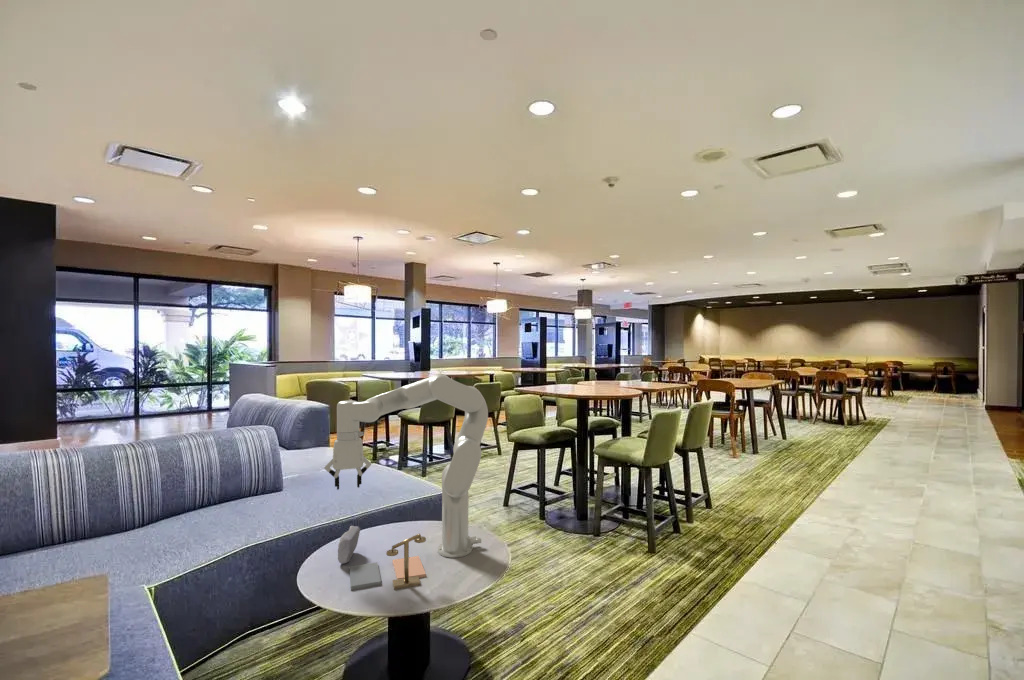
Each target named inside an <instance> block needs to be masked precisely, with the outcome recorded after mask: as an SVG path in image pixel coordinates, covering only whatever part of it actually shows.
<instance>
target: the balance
mask: <svg viewBox="0 0 1024 680" xmlns="http://www.w3.org/2000/svg"><path fill="white" fill-rule="evenodd" d="M412 541H414V542H415V543H417V544H421V543H422V544H423V543H425V542H426V541H427V537H426V536H422V535H421V533H418V534H415V535H413V536H411V537H408V538H407V539H405V540H401V541H400V542H398V543H396V544H394V545H391V549H388V550H386V551H385V552H386V553H385V554H386V556H388V557H395V556H398V555H399V550H398V548H399V547H401V546H403V558H404V578H402V579H393V580H392V587H393V590H394V591H395V590H399V589H404V588H410V587H416V586H420V585H421V579H420V578H419V577H418V576H414V577H409V557H410V556H409V554H410V553H409V552H410V547H409V546H410V545H409V544H410V542H412ZM396 548H397V549H396Z"/></svg>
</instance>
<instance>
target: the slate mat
mask: <svg viewBox="0 0 1024 680" xmlns="http://www.w3.org/2000/svg"><path fill="white" fill-rule="evenodd" d="M349 582H350V591H353V590H358V589H359V590H360V589H366V588H370V587H376V586H382V578H381V574H380V569H379V563H378V561H376V562H369V563H364V564H356V565H350V566H349Z"/></svg>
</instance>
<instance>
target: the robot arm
mask: <svg viewBox="0 0 1024 680" xmlns="http://www.w3.org/2000/svg"><path fill="white" fill-rule="evenodd" d="M437 400H438V401H440V402H442V403H445V405H446V404H447V405H450V406H452V407H454V408H456V409H459V410H460V411H464V417H463V420H462V421H463V422H462V425H461V427H460V430H459V433H458V435H457V437H456V440H455V442H454V444H453V448H452V451H453V455H452V458H451V461H450V463H448V464H447V465H446V466H445V467H444V468H443V470H442V472H441V473H442V474H441V497H442V498H441V505H442V506H441V509H442V510H441V544H439V546H438V547H437V553H438V555H440V556H442V557H444V558H445V557H446V558H449V559H450V558H451V559H452V558H453V559H454V558H462V557H465V556H467V555H470V553H472V552H473V548H474V547H473V545H475V544H482V537H476V536H470V535H469V508H470V507H469V506H470V505H469V491H470V488H471V487H472V485H473V484H472V483H473V481H474V479H475V476H476V473H477V470H478V468H479V465H480V462H481V459H482V447H481V446H480V445H481V443H482V440H483V436H484V433H485V431H486V427H487V423H488V421H489V411H488V408H489V407H488V405H487V403H486V400H485V398H484V396H483V395H482V392H480V390H479V389H477V387H475V386H473V385H466V384H464V383H461V382H459V381H457V380H455V379H452V378H450V377H449V376H448V375H446V374H442V373H440V374H435V375H432V376H430V377H429V376H428V377H426V378H423V379H420V380H418V381H415V382H412V383H409V384H406V385H403V386H401V387H398V388H396V389H393V390H389V391H387V392H384V393H380V394H378V395H375V396H372V397H370V398H368V399H366V400H364V401H357V400H349V399H348V400H341V401H338V403H337V404H336V439H335V440H334V444H333V448H332V452H333V453H332V459H331V460H330V461H329V462H328V463H327V464H326V465H325V466H324V470H325V471H326V472H328V473H329V475H331V476H332V477H333V478H334V488H335V487H336V490H337V491H339V490H340V476H339V474H340V471H342V470H354V469H355V470H356V472H357V475H356V486H357V488H360V485H362V476H363V475H364V474H365V472H366V471H367V470H368V469H369V468H370V467H371V466H372V462H370V460H368V458H366V456H364V445H363V440H362V438H361V437H362V436H365V434H364V431H360V422H361V423H373V422H376V421H377V420H378V419H379V418H380V417H382V416H384V415H386V414H389V413H392V412H396V411H399V410H403V409H405V410H409V409H410V410H411V409H414V408H416V407H417V408H418V407H419V406H422V405H424V404H428V403H430V402H434V401H437ZM364 464H365V465H364ZM331 467H332V468H331Z"/></svg>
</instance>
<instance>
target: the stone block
mask: <svg viewBox="0 0 1024 680" xmlns="http://www.w3.org/2000/svg"><path fill="white" fill-rule="evenodd" d="M360 532H361V527H360V526H357V525H356V526H354V525H351V526H349V529H348V530H347V531H345V532H344V533H343V534H342V535H341V536H340V538H339V542H338V544H337V545H338V548H337V560H338V561H337V562H339V563H340V564H343V565H344V564H347V563H349V562H350V560H351V559H352V556H353V555H354V552H355V550H356V548H357V546H358V542H359V537H360Z"/></svg>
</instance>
